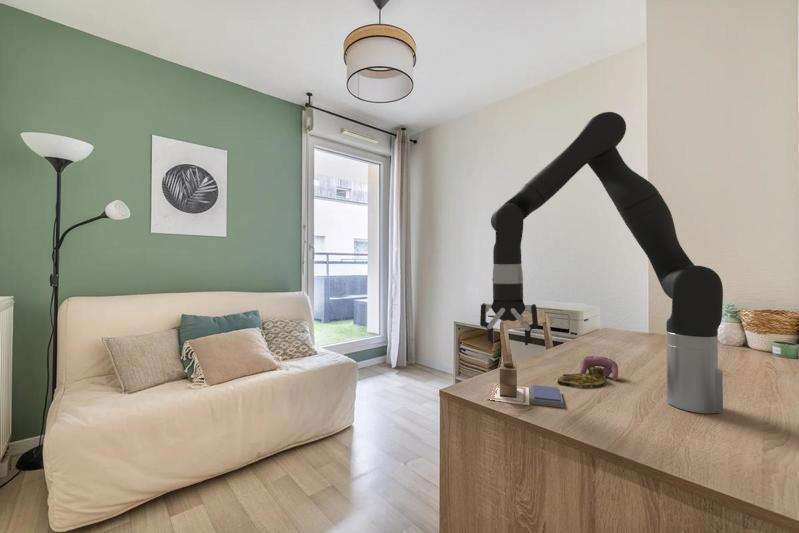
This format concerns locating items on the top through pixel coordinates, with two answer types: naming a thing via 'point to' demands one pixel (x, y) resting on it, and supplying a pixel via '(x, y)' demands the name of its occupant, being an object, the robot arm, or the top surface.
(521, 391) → the paper sheet
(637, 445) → the top surface
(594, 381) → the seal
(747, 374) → the top surface
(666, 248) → the robot arm
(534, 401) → the ink pad
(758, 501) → the top surface
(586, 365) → the video game controller
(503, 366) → the stamp
